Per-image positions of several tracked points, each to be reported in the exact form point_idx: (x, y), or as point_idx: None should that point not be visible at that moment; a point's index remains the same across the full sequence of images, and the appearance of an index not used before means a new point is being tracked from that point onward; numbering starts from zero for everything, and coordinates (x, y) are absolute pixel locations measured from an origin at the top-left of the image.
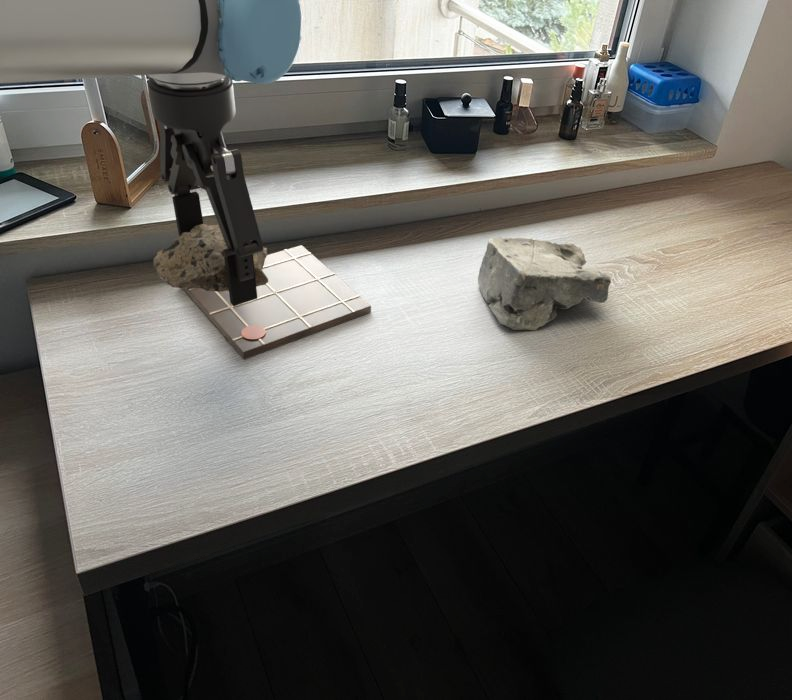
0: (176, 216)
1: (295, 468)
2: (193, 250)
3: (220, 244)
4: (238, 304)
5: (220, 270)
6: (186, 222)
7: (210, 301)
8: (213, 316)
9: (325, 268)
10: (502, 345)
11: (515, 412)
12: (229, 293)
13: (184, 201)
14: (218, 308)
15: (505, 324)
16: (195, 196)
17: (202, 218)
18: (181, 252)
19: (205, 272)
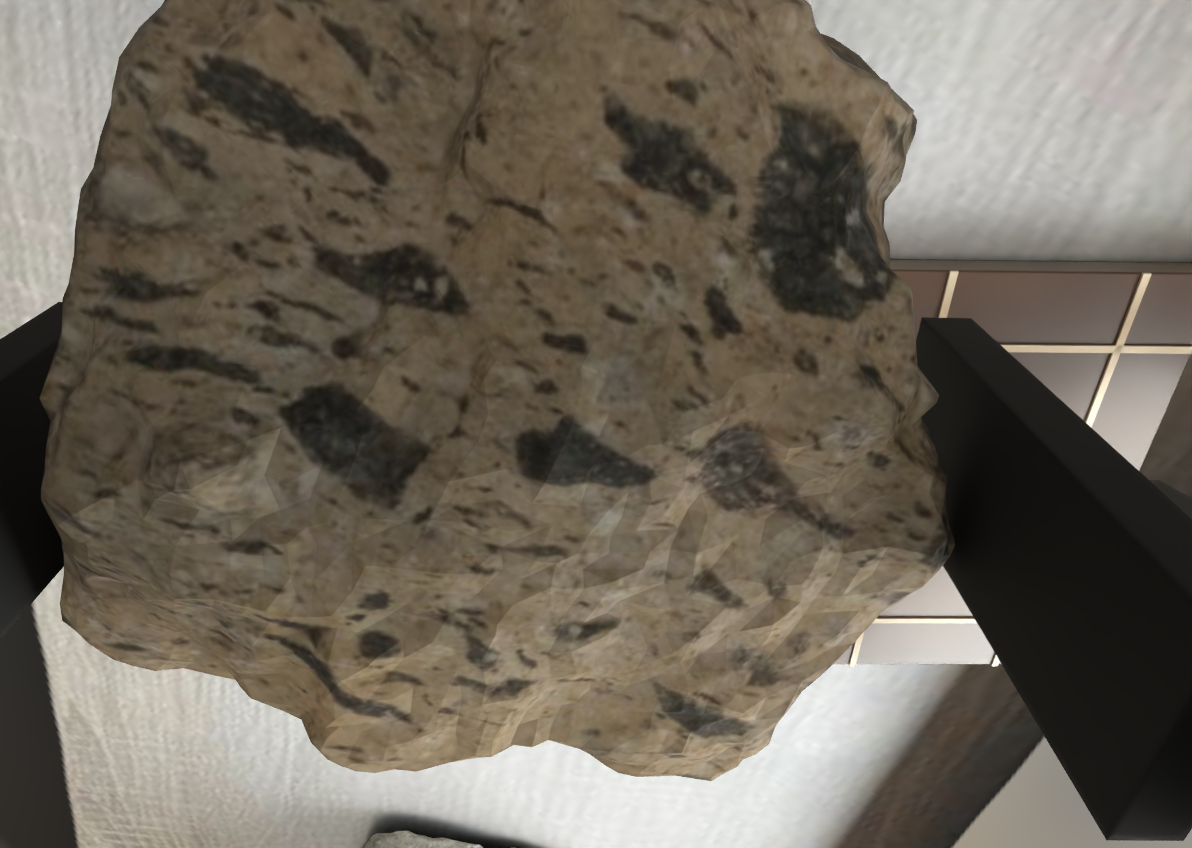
0: (1114, 474)
1: (74, 136)
2: (520, 355)
3: (407, 576)
4: None
5: (44, 408)
6: (1014, 496)
7: (1018, 306)
8: (931, 275)
9: (894, 658)
10: (344, 789)
11: (99, 693)
12: (56, 336)
13: (1144, 677)
14: (959, 311)
15: (379, 838)
16: (1111, 795)
17: (972, 614)
18: (595, 252)
19: (107, 289)
